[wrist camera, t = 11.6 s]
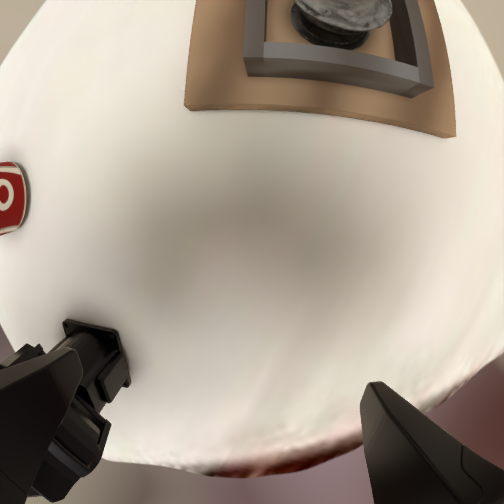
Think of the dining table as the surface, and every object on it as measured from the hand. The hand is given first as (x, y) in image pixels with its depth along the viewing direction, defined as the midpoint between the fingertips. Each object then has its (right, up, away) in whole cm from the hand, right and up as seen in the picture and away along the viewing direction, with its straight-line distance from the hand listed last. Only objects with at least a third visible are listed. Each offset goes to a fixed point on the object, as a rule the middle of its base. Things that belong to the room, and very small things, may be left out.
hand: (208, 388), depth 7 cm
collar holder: (+6, +19, +7) cm, 21 cm away
